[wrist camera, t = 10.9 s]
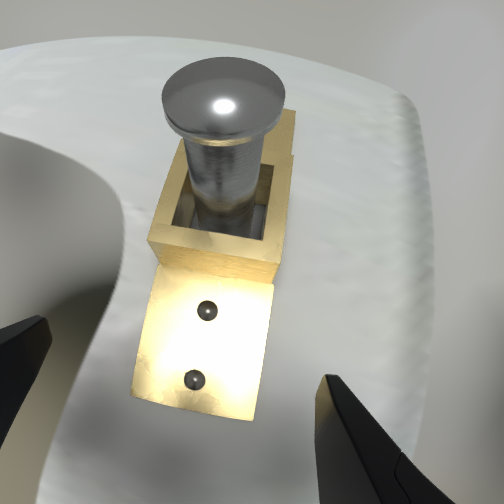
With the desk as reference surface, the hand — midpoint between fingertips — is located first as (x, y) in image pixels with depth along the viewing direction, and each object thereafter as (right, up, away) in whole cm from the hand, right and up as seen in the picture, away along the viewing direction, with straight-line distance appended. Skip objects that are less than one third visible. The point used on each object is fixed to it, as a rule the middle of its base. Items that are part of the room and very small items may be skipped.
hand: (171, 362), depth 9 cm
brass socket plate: (+1, +5, +12) cm, 13 cm away
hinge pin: (+1, +5, +12) cm, 13 cm away
